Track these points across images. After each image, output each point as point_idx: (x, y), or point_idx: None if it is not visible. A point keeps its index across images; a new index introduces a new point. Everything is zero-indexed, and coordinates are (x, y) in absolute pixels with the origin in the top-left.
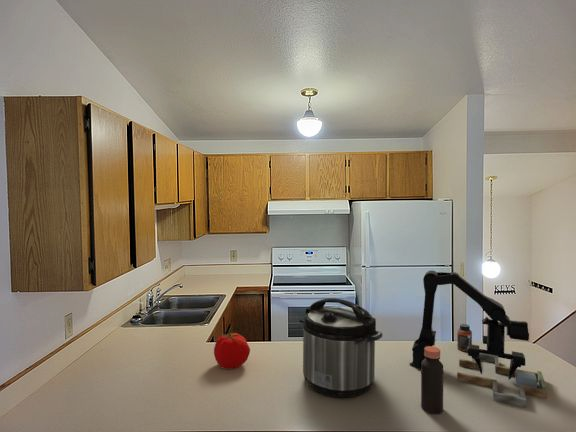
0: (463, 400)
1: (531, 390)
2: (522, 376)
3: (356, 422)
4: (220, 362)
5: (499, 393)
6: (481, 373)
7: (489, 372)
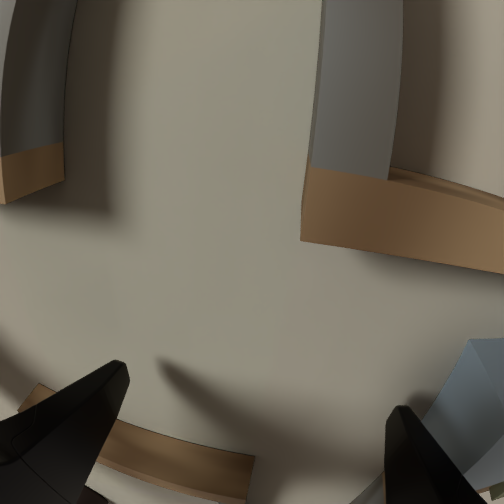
0: (129, 492)
1: None
2: (476, 484)
3: None
4: None
5: None
6: (123, 388)
7: (215, 222)
